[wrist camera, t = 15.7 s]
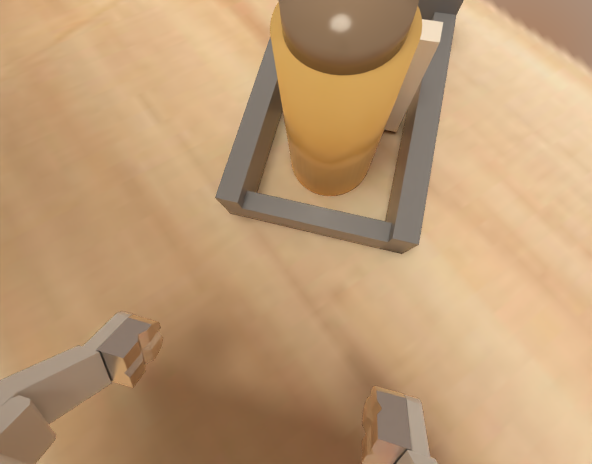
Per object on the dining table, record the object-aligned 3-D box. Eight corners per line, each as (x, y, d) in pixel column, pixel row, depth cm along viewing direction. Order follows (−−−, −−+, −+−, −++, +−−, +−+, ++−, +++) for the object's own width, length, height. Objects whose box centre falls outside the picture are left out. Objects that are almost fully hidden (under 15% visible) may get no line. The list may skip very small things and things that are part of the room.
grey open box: (401, 253, 18) (455, 225, 11) (230, 213, 19) (184, 165, 13) (439, 41, 22) (496, -77, 15) (292, 20, 23) (283, -97, 16)
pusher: (395, 133, 20) (439, 42, 13) (287, 113, 21) (273, 18, 14) (407, 73, 21) (454, -41, 14) (304, 57, 22) (299, -57, 15)
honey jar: (277, 149, 20) (237, -20, 10) (341, 113, 21) (369, -87, 10) (317, 210, 19) (321, 91, 8) (385, 170, 19) (470, 8, 9)
